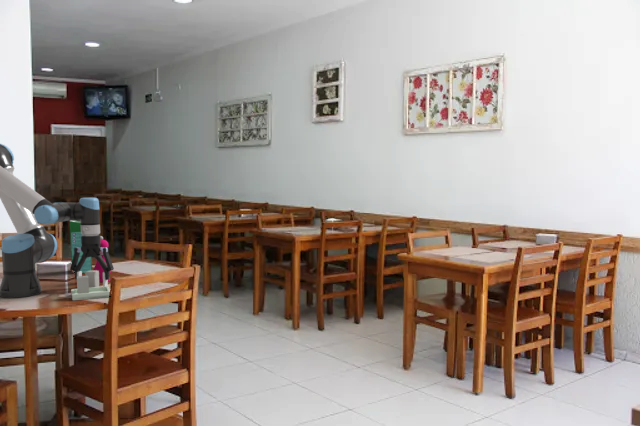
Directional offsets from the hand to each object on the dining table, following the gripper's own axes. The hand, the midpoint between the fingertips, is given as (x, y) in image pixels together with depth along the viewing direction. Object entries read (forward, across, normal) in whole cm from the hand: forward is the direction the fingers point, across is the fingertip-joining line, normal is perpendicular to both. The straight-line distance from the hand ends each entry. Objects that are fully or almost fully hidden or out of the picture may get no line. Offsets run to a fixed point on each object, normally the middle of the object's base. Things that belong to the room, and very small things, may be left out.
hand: (92, 287), depth 249 cm
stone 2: (0, 0, 0) cm, 0 cm away
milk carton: (0, -23, +35) cm, 42 cm away
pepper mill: (0, -2, +14) cm, 14 cm away
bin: (0, +7, -15) cm, 16 cm away
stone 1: (-1, +4, -16) cm, 17 cm away
